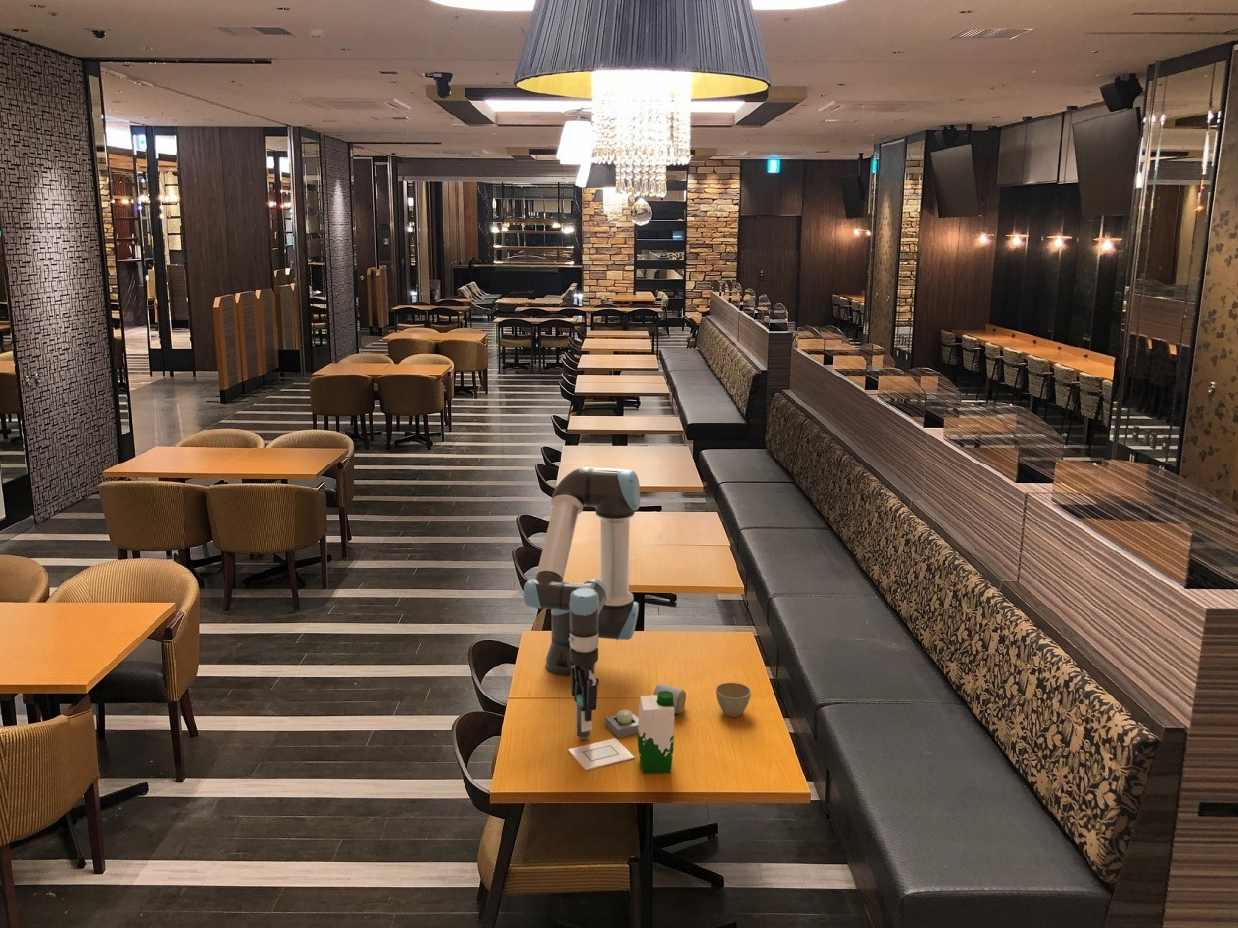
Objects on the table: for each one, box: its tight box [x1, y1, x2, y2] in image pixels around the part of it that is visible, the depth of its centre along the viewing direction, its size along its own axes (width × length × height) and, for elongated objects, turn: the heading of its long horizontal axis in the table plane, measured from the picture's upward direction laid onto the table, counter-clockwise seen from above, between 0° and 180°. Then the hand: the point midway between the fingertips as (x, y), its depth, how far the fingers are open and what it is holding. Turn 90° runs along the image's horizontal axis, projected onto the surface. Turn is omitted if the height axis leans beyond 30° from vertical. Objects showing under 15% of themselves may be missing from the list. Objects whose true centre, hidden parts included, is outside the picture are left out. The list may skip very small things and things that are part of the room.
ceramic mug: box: [652, 682, 687, 715], centre depth 298 cm, size 11×8×8 cm
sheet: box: [567, 737, 635, 771], centre depth 274 cm, size 11×14×1 cm
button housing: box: [604, 712, 639, 739], centre depth 287 cm, size 8×8×2 cm
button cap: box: [616, 709, 633, 726], centre depth 287 cm, size 4×4×3 cm
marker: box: [576, 693, 591, 740], centre depth 280 cm, size 4×4×12 cm
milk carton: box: [637, 691, 675, 774], centre depth 266 cm, size 9×9×20 cm
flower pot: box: [715, 682, 752, 718], centre depth 297 cm, size 10×10×7 cm
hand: (583, 726), depth 281 cm, fingers closed on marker, 3 cm apart
